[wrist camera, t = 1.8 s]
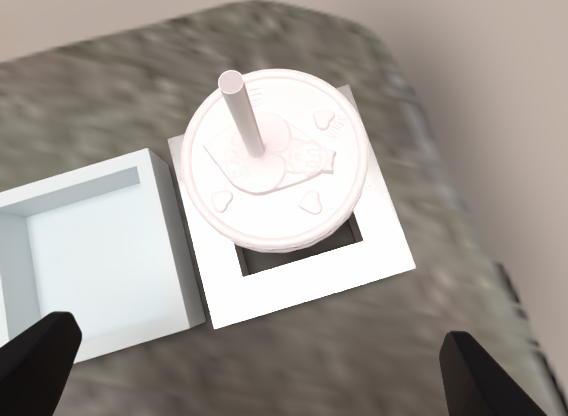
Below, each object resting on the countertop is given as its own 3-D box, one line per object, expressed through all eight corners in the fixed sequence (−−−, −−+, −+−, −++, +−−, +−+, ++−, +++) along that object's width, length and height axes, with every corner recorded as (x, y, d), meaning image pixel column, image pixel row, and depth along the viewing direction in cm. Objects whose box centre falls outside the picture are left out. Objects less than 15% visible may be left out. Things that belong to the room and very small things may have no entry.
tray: (206, 321, 21) (189, 328, 18) (42, 371, 20) (-2, 386, 18) (168, 165, 22) (147, 147, 20) (18, 210, 22) (-25, 200, 19)
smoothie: (243, 151, 22) (145, -53, 9) (348, 164, 22) (421, -32, 8) (224, 255, 21) (77, 210, 7) (334, 272, 21) (394, 256, 7)
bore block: (402, 269, 20) (416, 268, 18) (225, 323, 20) (214, 329, 18) (343, 105, 23) (348, 84, 20) (182, 154, 23) (167, 139, 20)
